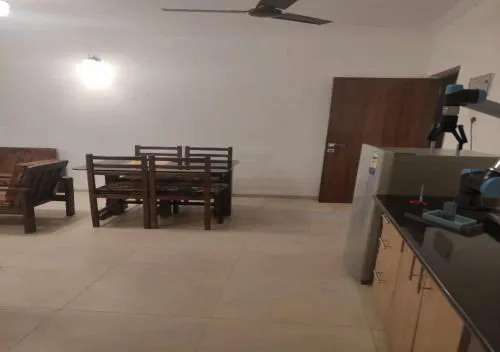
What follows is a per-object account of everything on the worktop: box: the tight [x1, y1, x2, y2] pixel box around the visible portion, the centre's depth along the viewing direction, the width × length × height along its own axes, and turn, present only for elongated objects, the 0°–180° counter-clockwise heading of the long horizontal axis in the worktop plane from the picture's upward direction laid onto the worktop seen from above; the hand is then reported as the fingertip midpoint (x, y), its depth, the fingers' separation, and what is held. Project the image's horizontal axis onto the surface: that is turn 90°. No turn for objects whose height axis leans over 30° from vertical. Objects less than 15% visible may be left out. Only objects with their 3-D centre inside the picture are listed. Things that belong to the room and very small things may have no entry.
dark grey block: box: [442, 201, 458, 222], centre depth 152 cm, size 4×4×10 cm
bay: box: [403, 208, 484, 237], centre depth 155 cm, size 17×29×4 cm, turn 29°
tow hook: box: [409, 184, 428, 206], centre depth 190 cm, size 8×13×9 cm
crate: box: [421, 209, 478, 230], centre depth 152 cm, size 14×18×4 cm
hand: (444, 154), depth 169 cm, fingers open, 13 cm apart
